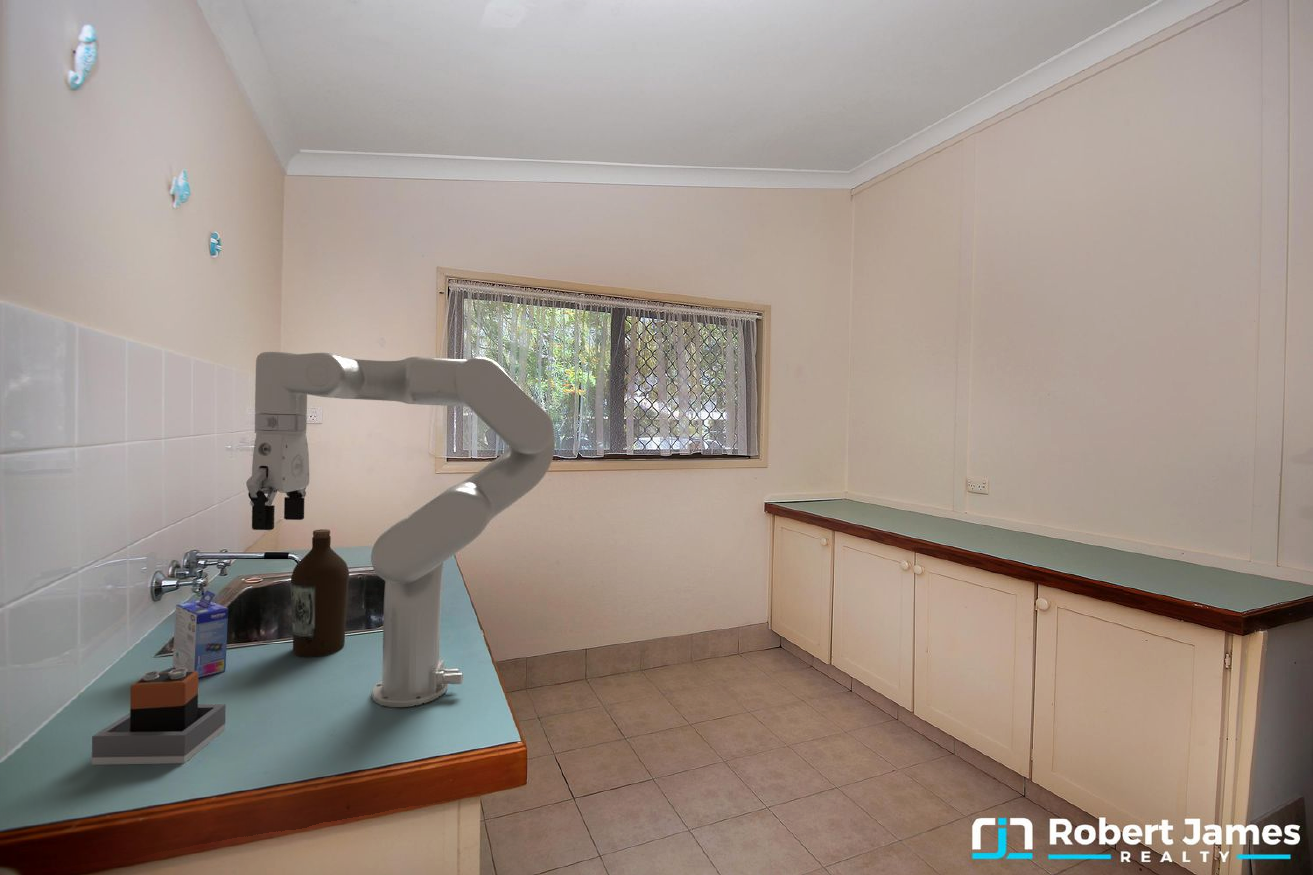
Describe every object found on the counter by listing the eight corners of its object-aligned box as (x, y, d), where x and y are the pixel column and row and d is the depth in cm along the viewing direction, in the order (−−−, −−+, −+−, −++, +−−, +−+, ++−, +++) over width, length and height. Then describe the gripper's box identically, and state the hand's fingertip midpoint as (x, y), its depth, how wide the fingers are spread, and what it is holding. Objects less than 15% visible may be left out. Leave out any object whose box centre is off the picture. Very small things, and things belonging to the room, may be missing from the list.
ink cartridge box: (228, 670, 112) (230, 595, 112) (194, 681, 108) (195, 602, 107) (205, 658, 117) (206, 586, 117) (171, 667, 113) (172, 592, 112)
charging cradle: (225, 729, 92) (225, 704, 92) (184, 763, 83) (184, 735, 83) (142, 730, 91) (142, 704, 91) (91, 764, 82) (92, 736, 82)
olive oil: (324, 636, 131) (327, 524, 130) (358, 644, 127) (361, 529, 126) (277, 652, 121) (279, 531, 121) (312, 662, 117) (315, 537, 116)
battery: (183, 744, 86) (184, 676, 85) (128, 748, 84) (128, 679, 84) (198, 728, 90) (199, 664, 90) (146, 732, 88) (147, 666, 88)
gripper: (276, 426, 93) (274, 534, 93) (327, 425, 110) (325, 516, 110) (225, 424, 92) (224, 533, 93) (285, 423, 109) (283, 515, 110)
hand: (279, 524), depth 102 cm, fingers open, 9 cm apart
